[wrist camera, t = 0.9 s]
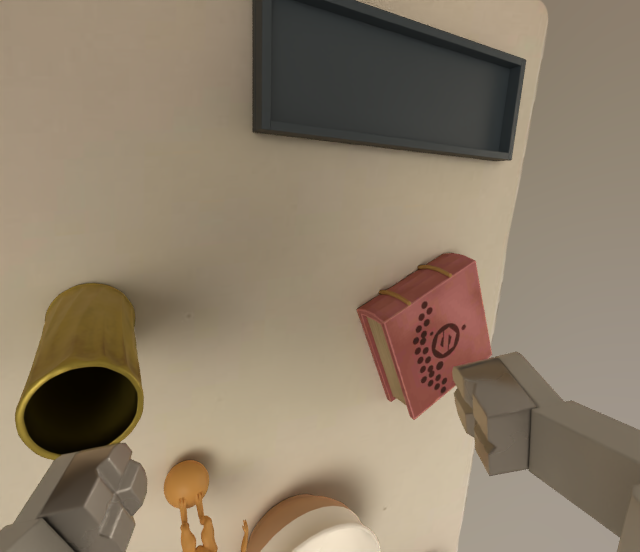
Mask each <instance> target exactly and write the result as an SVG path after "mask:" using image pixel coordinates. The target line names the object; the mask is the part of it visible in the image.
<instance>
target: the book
mask: <svg viewBox="0 0 640 552" xmlns="http://www.w3.org/2000/svg"><path fill="white" fill-rule="evenodd" d="M418 269H419V270H417V271H415V272H414V273H412V274H411V275H409V276H408V277H406V278H405V279H403V280H401V281H400V282H398V283H397V284H395V285H394V286H392V287H391V288H389V289H387V290H380V291H379V294H380V295H378V296H377V297H375V298H373V299H372V300H370V301H369V302H367V303H366V304H364V305H363V306H361V307H359V308H358V309H357V312H358V315H359V318H360V321H361V323H362V326H363V329H364V332H365V335H366V338H367V341H368V344H369V347H370V350H371V353H372V356H373V358H374V361H375V364H376V367H377V370H378V373H379V376H380V379H381V382H382V385H383V388H384V391H385V394H386V396H387V399H388V400H389V401H390V402H392V401H393V400H394V399H396V398H397V399H398V400H400V401H401V402H402V403H404V404H405V405H407V408H408V411H409V415H410V417H411V418H412V419H414V420H415V419H416V418H417V417H418V416H420V415H421V414H422V413H423V412H424V411H426V410H427V409H428V408H429V407H430V406H432V405H433V404H434V403H435V402H436V401H438V400H439V399H440V398H441V397H442V396H444V395H445V394H446V393H447V392H448V391H450V390H451V389H452V388H453V387H454V386H456V384H455V382H454V381H453V374H452V370H453V367H454V366H459V365H463V364H467V363H471V362H475V361H480V360H484V359H488V358H489V357H490V356H491V355H492V352H491V346H490V341H489V335H488V329H487V324H486V318H485V312H484V306H483V301H482V295H481V289H480V284H479V278H478V272H477V267H476V261H475V260H473V259H471V258H468V257H466V256H464V255H460V254H455V253H447V254H442V255H440V256H439V257H437V258H436V259H434V260H433V261H431V262H429V263H428V264H426V265H419V266H418Z"/></svg>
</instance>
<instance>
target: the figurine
mask: <svg viewBox="0 0 640 552" xmlns="http://www.w3.org/2000/svg"><path fill="white" fill-rule="evenodd" d="M208 486H209V476H208V472H207V470H206V468H205V467H204V466H203V465H202V464H201V463H199V462H197V461H194V460H186V461H183V462H180V463H178V464H177V465H175V466H174V467H173V468H172V469H171V470H170V472H169V473H168V475H167V477H166V479H165V483H164V494H165V497H166V499H167V501H168V502H169V503H170V504H171V505H172V506H174V507H176V508H179V509H180V512H181V519H182V525H181V531H182V532H181V545H182V549H183V552H217V549H218V548H217V545H216V543H215V539H214V528H213V525H212V520H211V518H209V517H208V516H204V512H203V505H202V498H203V497H204V496H205V494H206V492H207V489H208ZM194 505H196V506H197V511H198V516H199V519H200V523H201V525H204V528H203V530H202V533H201V539H202V542H203V546H201V545H199V546H198V547H197V548H196V539H195V536H194V535H193V534H192V533H191V531H190V529H189V524H188V523H187V510H186V508H190V507H193V506H194ZM243 521H244V520H243ZM242 527H243V530H244V532H245V535H244V537H243V541H242V545H241V552H246V548H247V543H248V525H247V522H246V520H245V521H244V526H242ZM244 527H245V528H244Z"/></svg>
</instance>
